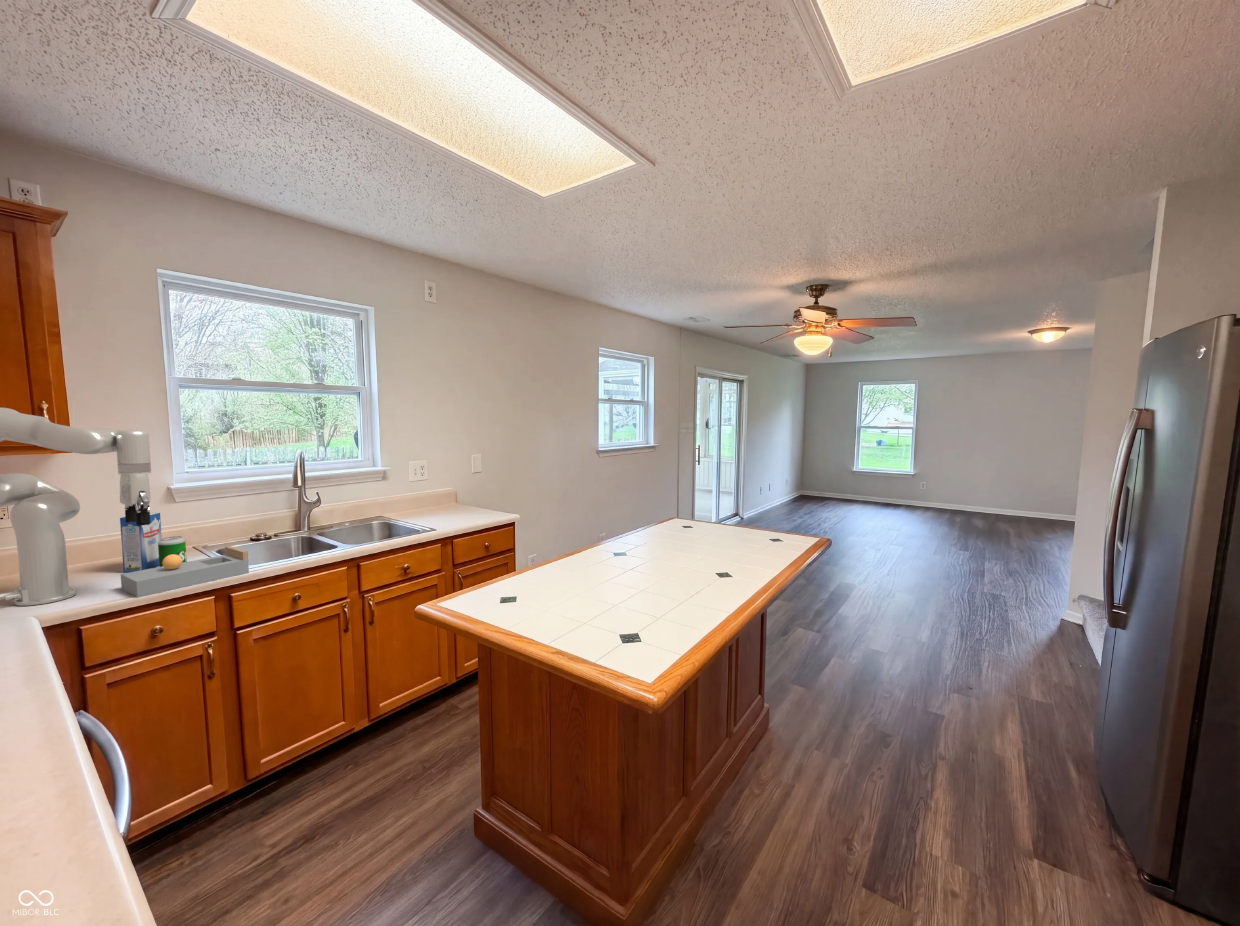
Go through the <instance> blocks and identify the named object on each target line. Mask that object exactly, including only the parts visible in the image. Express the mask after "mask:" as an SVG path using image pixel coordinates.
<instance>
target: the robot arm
mask: <svg viewBox="0 0 1240 926" xmlns="http://www.w3.org/2000/svg"><path fill="white" fill-rule="evenodd" d="M3 441H11V442H16V443H23V444H28V445H29V444H30V445H35V446H37V447H42V448H45V449H49V450H54V451H60V452H61V451H62V452H67V453H74V454H80V455H99V454H108V453H115V452H116V459H117V460H116V461H117V474H118V475H120V477H119V502H120V504H122V505H124V517H125V519H126V522H127V523H128V522H136V525H137V526H141V525H149V524H150V513H151V512H150V511H151V510H150V503H151V488H150V487H151V486H150V480H149V474H152V464H151V449H150V448H151V446H150V434H149V432H148V431H147V430H143V429H121V430H120V429H113V428H110V429H109V428H89V429H88V428H87V429H86V428H81V427H74V426H69V425H63V424H57V423H55V422H51V420H50V419H48V418H47V417H44V416H40V415H33V414H26V413H21V412H20V411H17V410H16V409H13V408H7V407H0V443H1V442H3ZM9 506H12V508H11V510H10V513H9V520H10V523H11V525H12V528H13V531H14V535H15V538H16V539H15V540H16V548H17V558H18V571H19V580H20V581H19V582H20V586H18V587H17V589H14V590H12V591H10V592H3V593H0V601H10V600H13V604H14V605H16V606H21V607H22V606H23V607H24V606H36V605H44V604H51V603H54V602H55V603H56V602H59V601H63V600H67V599H70V598H72V597H73V596H76V595H77V592H78V591H77V589H76V588H70V585H69V574H68V573H69V571H68V559H67V558H68V557H67V547H66V538H65V534H64V531H63V529H62V528H61V525H60V523H63V522H66V521H69V520H71V519H73V518H75V517H76V516H77V515H78V514H79V512H80V510H81V504H80V502H79V500H78V498H76V496H74V495H73V494H71V493H69V492H67V491H66V490H64V489H62V488H59V487H57V486H56V485H53V484H52V483H50V482H47V481H45V480H43V479H41V478H39V477H37V476H34V475H32V474H28V473H23V472H22V473H21V472H13V473H5V474H4V473H0V508H5V507H9Z"/></svg>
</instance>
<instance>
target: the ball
mask: <svg viewBox="0 0 1240 926" xmlns="http://www.w3.org/2000/svg"><path fill="white" fill-rule="evenodd" d="M162 564H163V566H164V567H165V568H166V569H169V570H173V569H176V568H178V567H180V566H181V564H182V558H181V557H180V556H179V555H175V554H172V555H168V556H167V557H165V558H164V559H163V562H162Z"/></svg>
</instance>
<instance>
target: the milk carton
mask: <svg viewBox="0 0 1240 926" xmlns="http://www.w3.org/2000/svg"><path fill="white" fill-rule="evenodd" d="M161 521H162V520H161V512H150V524H149V525H141V526H137V525H136V522H128V523H127V522H126V519H125V516H122V517H120V518H119V525H120V536H121V539H120V541H121V553H122V555H121V556H122V568H123V569H122V571H123V574H124V573H130V572H135V571H140V570H146V569H151V568H157V567H158V566H159V551H158V542H159V541H160V540H161V539H162V537H163V536H162V522H161Z"/></svg>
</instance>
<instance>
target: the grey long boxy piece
mask: <svg viewBox="0 0 1240 926" xmlns="http://www.w3.org/2000/svg"><path fill="white" fill-rule="evenodd" d="M224 550H225V551H224V552H225V553H224V554H222V555H218V556H216V555H215V556H212V557H211V556H210V557H205V558H200V559H196V560H194V559H193V560H189V561H187V562H183V563H182V564H181V566H180V567H178V568H176V569H173V570H169V569H166V568H165V567H164V566H162V567H156V568H151V569H146V570H140V571H135V572H130V573H124V572H123V573H121V574H120V583H121V587H120V588H121V590H122V591H124V592H126V593H128V594H130V595H132V596H134V597H136V598H140V597H141V598H142V597H146V596H150V595H154V594H160V593H163V592H168V591H174V590H178V589H184V588H187V587H192V586H195V585H200V584H206V583H209V582H214V581H218V580H223V579H228V578H233V577H236V576H237V577H238V576H241V575H247V574H249V572H250V571H249V567H250V566H249V552H248V550H245V549H242V548H238V547H235V546H231V545H228V546H224Z"/></svg>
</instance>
